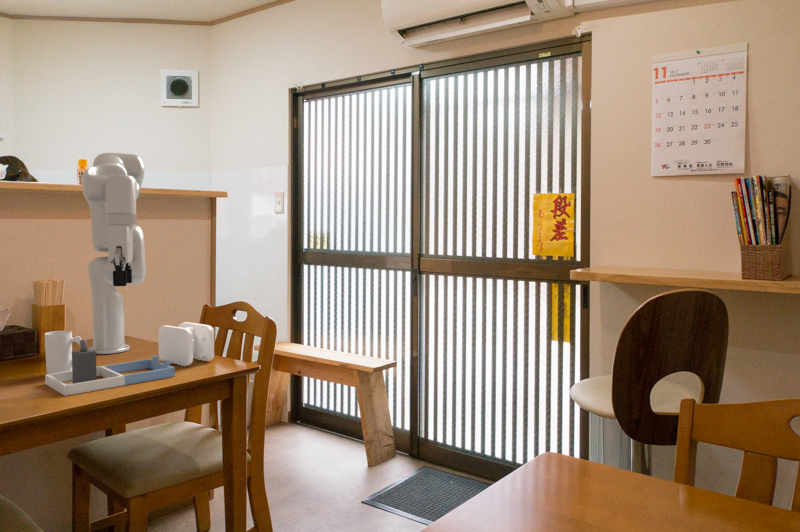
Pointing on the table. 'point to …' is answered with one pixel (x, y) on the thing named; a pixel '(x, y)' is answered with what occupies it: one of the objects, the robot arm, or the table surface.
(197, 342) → the cable organizer
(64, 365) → the mug
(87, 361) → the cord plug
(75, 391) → the shallow tray
